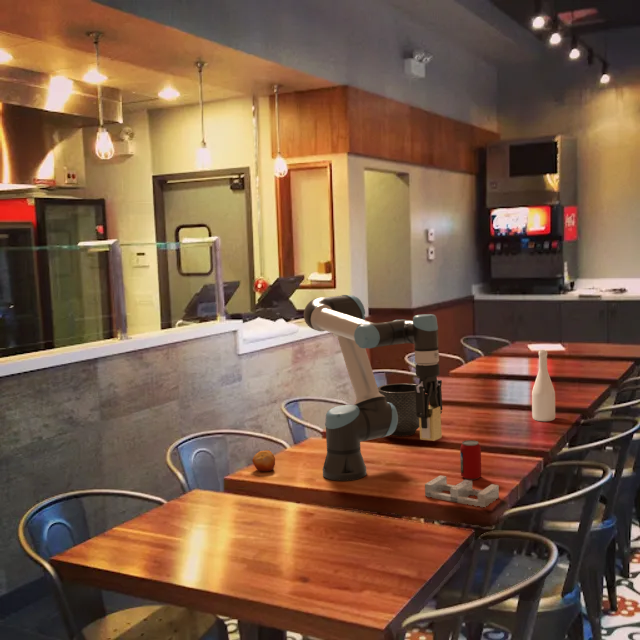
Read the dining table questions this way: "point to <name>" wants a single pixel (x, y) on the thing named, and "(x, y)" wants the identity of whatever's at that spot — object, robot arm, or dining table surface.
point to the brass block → (433, 423)
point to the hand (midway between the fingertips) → (430, 435)
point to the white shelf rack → (461, 492)
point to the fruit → (264, 461)
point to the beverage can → (470, 459)
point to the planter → (402, 406)
